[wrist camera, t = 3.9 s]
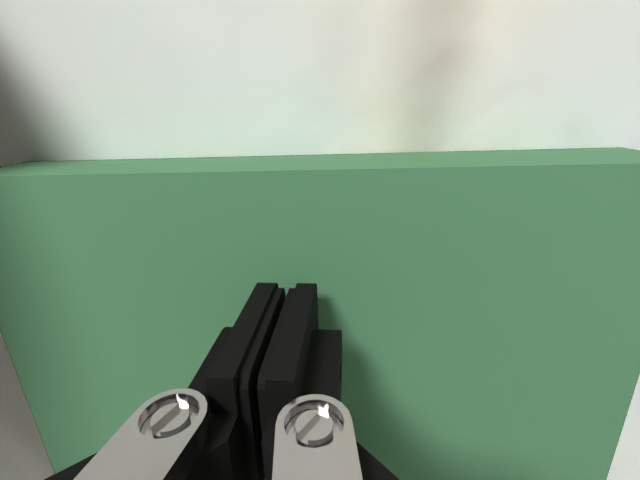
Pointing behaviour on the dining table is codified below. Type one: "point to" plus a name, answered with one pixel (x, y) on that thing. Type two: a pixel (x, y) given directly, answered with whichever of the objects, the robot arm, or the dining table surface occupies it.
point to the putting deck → (342, 294)
